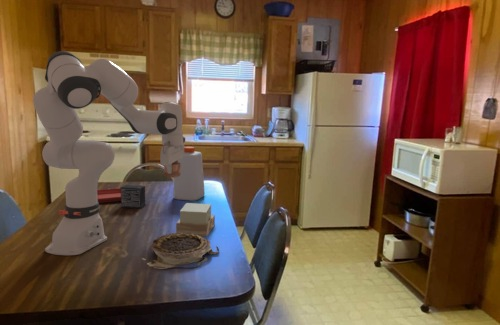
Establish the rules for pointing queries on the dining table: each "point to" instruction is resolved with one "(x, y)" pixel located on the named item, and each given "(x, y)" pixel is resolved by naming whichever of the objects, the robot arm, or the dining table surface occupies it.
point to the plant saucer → (109, 195)
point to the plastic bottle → (190, 176)
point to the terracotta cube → (176, 170)
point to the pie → (180, 249)
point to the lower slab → (196, 227)
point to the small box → (132, 196)
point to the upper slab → (195, 213)
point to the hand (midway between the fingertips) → (172, 171)
